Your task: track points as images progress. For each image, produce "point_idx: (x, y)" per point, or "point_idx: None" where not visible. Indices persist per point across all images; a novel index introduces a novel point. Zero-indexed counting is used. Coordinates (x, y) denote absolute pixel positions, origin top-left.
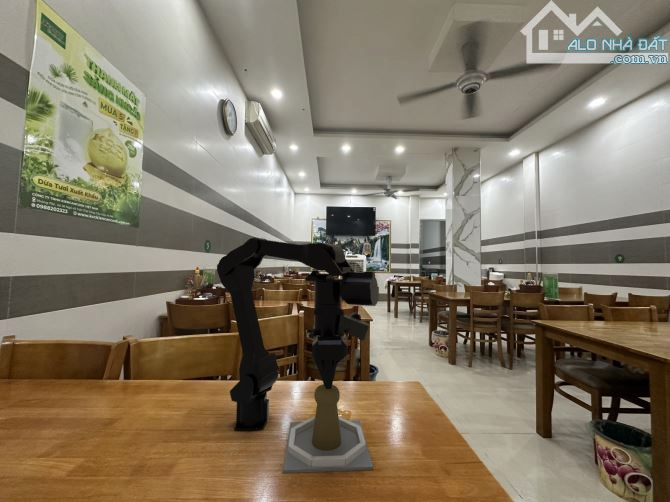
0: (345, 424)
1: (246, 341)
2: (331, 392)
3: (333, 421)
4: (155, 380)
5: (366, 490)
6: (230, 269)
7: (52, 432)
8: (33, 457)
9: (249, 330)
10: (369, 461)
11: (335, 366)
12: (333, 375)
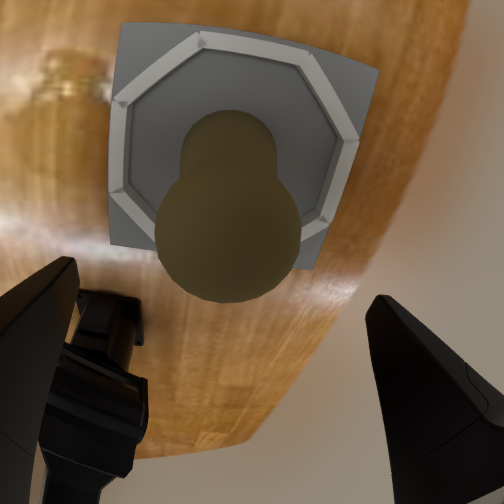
0: (159, 80)
1: None
2: (295, 242)
3: (275, 169)
4: None
5: (422, 119)
6: None
7: (153, 447)
8: (194, 446)
9: None
10: (358, 68)
11: (498, 399)
12: (451, 355)
